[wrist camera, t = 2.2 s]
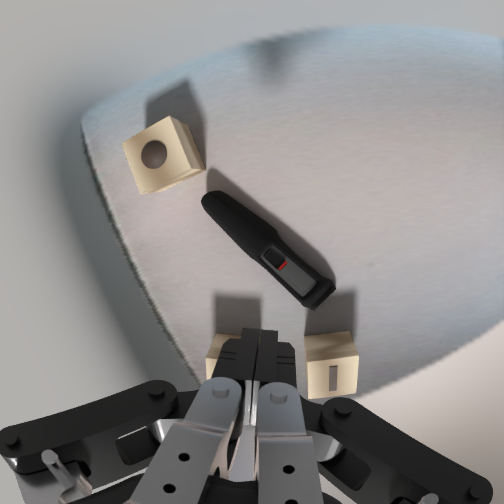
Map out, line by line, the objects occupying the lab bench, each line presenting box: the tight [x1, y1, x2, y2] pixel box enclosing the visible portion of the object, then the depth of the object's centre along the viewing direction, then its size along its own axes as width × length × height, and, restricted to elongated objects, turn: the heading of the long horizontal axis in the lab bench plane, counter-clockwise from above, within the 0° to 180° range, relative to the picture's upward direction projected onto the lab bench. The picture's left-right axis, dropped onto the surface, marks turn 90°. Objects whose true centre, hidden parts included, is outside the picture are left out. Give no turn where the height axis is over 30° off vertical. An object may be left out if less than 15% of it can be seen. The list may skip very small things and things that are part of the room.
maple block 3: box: [304, 331, 359, 399], centre depth 28 cm, size 5×5×5 cm
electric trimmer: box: [201, 191, 336, 311], centre depth 27 cm, size 4×16×3 cm, turn 48°
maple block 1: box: [122, 116, 206, 194], centre depth 24 cm, size 5×5×5 cm
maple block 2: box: [206, 333, 260, 380], centre depth 29 cm, size 5×5×5 cm
